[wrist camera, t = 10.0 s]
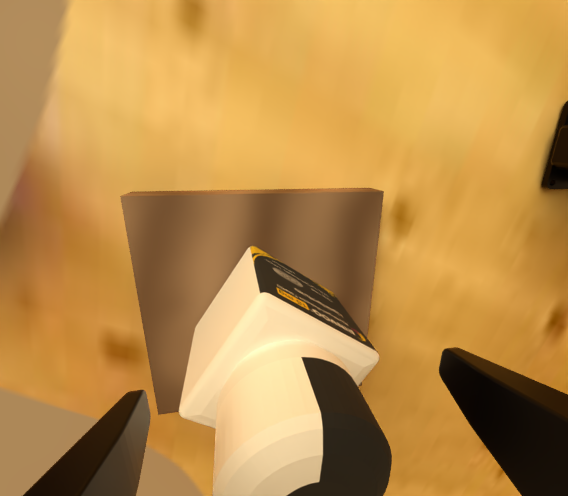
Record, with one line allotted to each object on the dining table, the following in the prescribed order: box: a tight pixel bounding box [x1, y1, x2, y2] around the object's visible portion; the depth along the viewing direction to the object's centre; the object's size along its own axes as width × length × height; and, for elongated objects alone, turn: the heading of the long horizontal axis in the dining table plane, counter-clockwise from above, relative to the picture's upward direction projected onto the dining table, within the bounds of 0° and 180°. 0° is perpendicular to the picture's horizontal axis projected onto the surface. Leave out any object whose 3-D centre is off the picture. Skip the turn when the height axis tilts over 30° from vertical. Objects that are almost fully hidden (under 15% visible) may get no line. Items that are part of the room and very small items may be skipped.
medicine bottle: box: [179, 246, 392, 496], centre depth 14 cm, size 7×7×12 cm
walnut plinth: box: [120, 188, 384, 415], centre depth 21 cm, size 16×16×2 cm
